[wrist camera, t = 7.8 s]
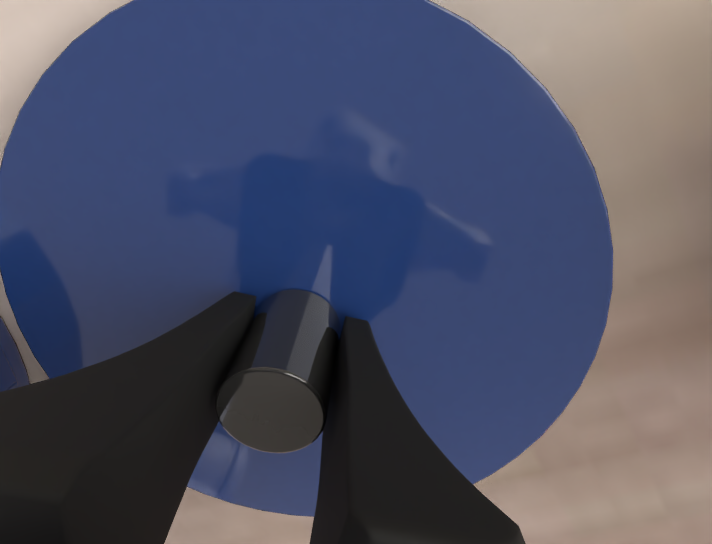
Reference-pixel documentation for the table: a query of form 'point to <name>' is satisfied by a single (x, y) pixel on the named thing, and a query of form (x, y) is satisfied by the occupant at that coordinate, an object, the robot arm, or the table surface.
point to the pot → (10, 362)
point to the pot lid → (311, 222)
